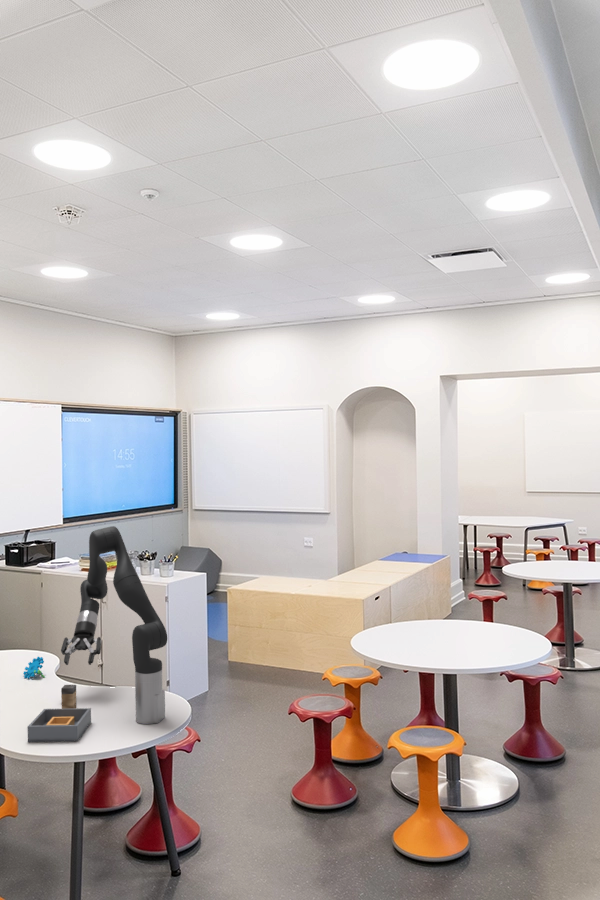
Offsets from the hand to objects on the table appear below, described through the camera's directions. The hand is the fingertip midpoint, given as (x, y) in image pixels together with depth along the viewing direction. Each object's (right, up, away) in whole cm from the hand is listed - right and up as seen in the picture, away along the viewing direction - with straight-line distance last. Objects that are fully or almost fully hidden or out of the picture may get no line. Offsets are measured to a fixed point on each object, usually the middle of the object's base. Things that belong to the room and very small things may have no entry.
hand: (78, 663), depth 274 cm
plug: (0, -15, -11) cm, 19 cm away
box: (+2, -15, -27) cm, 31 cm away
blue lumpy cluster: (-28, -15, +32) cm, 45 cm away
